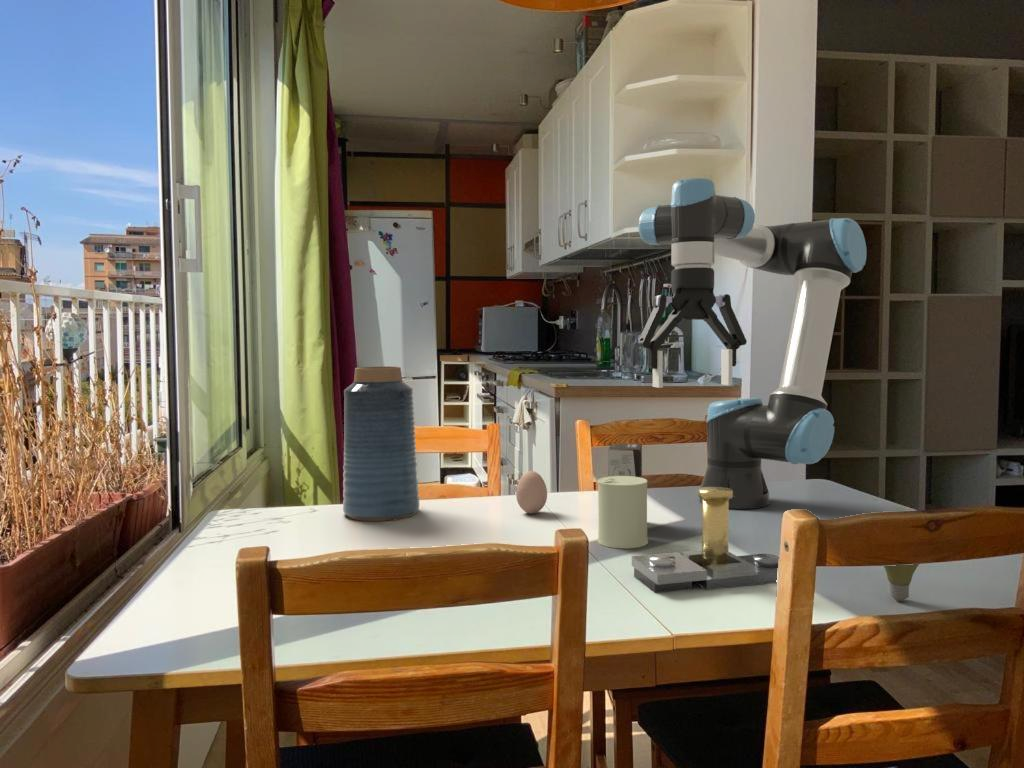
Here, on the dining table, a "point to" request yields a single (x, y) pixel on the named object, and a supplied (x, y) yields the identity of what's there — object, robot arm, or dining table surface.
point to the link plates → (703, 571)
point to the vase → (379, 446)
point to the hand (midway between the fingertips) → (692, 386)
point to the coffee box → (625, 459)
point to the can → (622, 512)
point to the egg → (531, 492)
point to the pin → (715, 524)
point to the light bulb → (900, 580)
